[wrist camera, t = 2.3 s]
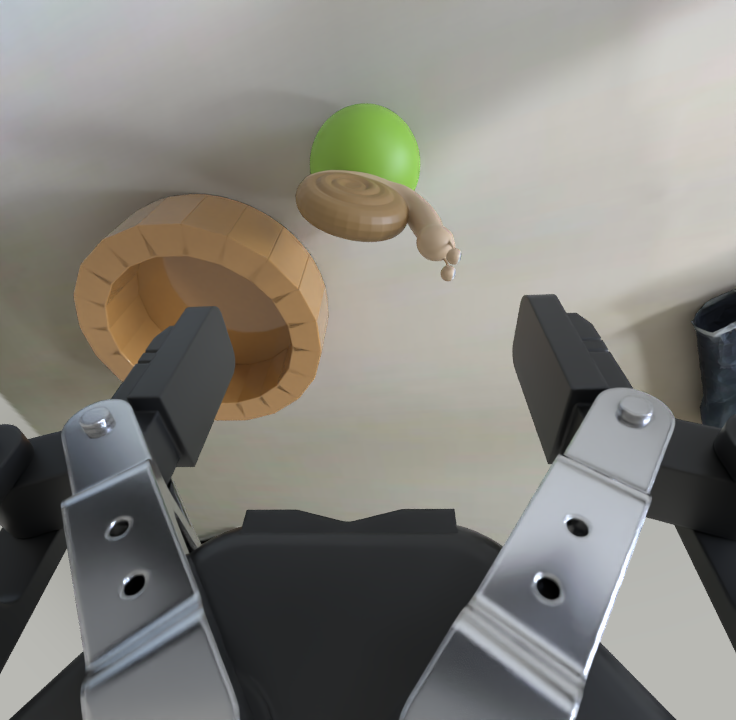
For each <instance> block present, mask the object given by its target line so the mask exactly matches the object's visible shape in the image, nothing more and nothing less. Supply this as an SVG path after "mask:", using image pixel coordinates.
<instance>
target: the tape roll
mask: <svg viewBox="0 0 736 720" xmlns="http://www.w3.org/2000/svg"><path fill="white" fill-rule="evenodd" d="M73 295H74V296H73V297H74V302H75V307H76V312H77V317H78V322H79V326H80V329H81V331H82V332H83V334H84V336H85V337H86V339H87V341H88V343H89V344H90V346H91V348H92V350H93V351H94V353H95V355H96V356H97V357H98V358H99V359H100V360H101V361H102V362H103V363H104V364H105V365H106V366H107V367H108V368H109V369H110V370H111V371H112V372H113V373H114V374H115V375H116V376H117V377H118V378H119V379H120V380H121V381H122V382H123V381H124V380H125V378H126V377H127V376H128V374H129V373H130V371H131V370H132V368H133V367H134V366H135V364H138V360H139V358H140V357H141V356H142V354H143V353H145V350H146V349H147V347H148V346H149V344H150V343H151V341H152V340H153V339H154V337H156V336H157V335H158V334H160V333H161V332H162V331H164V330H165V329H166V328H168V327H169V326H174V325H175V324H176V322H177V321H178V319H179V318H180V316H181V315H182V313H183V312H184V310H185V309H186V308H187V307H202V306H217V307H218V308H219V309H220V311H221V313H222V316H223V319H224V322H225V325H226V329H227V332H228V335H229V338H230V341H231V344H232V347H233V350H234V354H235V370H234V374H233V376H232V379H231V381H230V384H229V386H228V388H227V391H226V393H225V395H224V398H223V400H222V403H221V405H220V407H219V410H218V412H217V414H216V417H215V419H214V420H217V421H219V420H250V419H254V418H258V417H262V416H266V415H270V414H274V413H275V412H278V411H279V410H281V409H283V408H284V407H286V406H288V405H289V404H291V403H293V402H294V401H296V400H297V399H298V398H300V397H301V395H302V394H303V393H304V391H305V390H306V389H307V388H308V386H309V385H310V384H311V382H312V381H313V380H314V378H315V376H316V372H317V368H318V364H319V361H320V357H321V353H322V348H323V342H324V337H325V332H326V327H327V322H328V316H329V313H328V298H327V293H326V288H325V284H324V282H323V279H322V276H321V273H320V271H319V269H318V268H317V266H316V264H315V262H314V260H313V259H312V257H311V256H310V254H309V253H308V251H307V250H306V248H305V247H304V246H303V245H302V244H301V243H300V242H299V241H298V239H297V238H296V237H295V236H294V235H293V234H292V233H290V232H289V231H288V230H287V229H286V228H285V227H284V226H282V225H281V224H280V223H278V222H277V221H275V220H274V219H273V218H271V217H270V216H268V215H266V214H264V213H263V212H261V211H259V210H257V209H255V208H253V207H251V206H248V205H246V204H244V203H241V202H239V201H235V200H232V199H228V198H224V197H220V196H213V195H207V194H185V195H176V196H171V197H167V198H164V199H160V200H158V201H156V202H153V203H151V204H149V205H147V206H145V207H143V208H141V209H139V210H137V211H136V212H134V213H133V214H132V215H131V216H130V217H128V218H127V219H126V220H125V221H124V222H123V223H121V224H120V225H119V226H118V227H117V228H115V229H114V230H113V231H112V232H111V233H109V234H108V235H107V236H106V237H105V238H104V239H102V240H101V241H100V242H99V244H98V245H97V246H96V247H95V248H94V249H93V250H92V252H91V253H90V254H89V255H88V256H87V257H86V258H85V259H84V261H83V262H82V263H81V265H80V268H79V272H78V276H77V280H76V285H75V289H74V293H73Z"/></svg>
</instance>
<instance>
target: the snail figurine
mask: <svg viewBox="0 0 736 720" xmlns="http://www.w3.org/2000/svg"><path fill="white" fill-rule="evenodd" d="M310 173H311V175H309V176H307V177H305V178H304V180H303V181H302V182H301V183H300V185H299V186H298V188H297V192H296V204H297V207H298V209H299V211H300V213H301V214H302V216H303V217H304V218H305V219H306V220H307V221H308V222H309V223H311V224H312V225H314V226H315V227H317V228H318V229H320V230H322V231H324V232H326V233H329V234H331V235H334V236H337V237H340V238H344V239H348V240H353V241H361V242H377V241H384V240H388V239H391V238H393V237H395V236H397V235H398V234H400V233H401V232H402V231H403V229H404V228H405V226H406V224H407V223H408V225H409V226H410V228H411V230H412V231H413V233H414V234H415V236H416V237H417V248H418V250H419V252H420V254H421V255H422V256H424V257H425V258H426V259H428V260H431V261H441V260H444V261H445V263H446V265H447V266H445V267H444V268H443V269H442V270H441V277H442V279H443V280H445V281H451V280H453V278H454V276H455V272H456V271H455V268H454V267H453V266H449V264H448V262H449V263H450V264H457V263H459V261H460V259H461V251H460V250H459V249H457V248H455V241H454V238H453V234H452V233H451V232H450V231H449V230H448V229H447V228H446V227H444V226H443V224H442V221H441V219H440V217H439V216H438V214H437V213H436V211H435V210H434V209H433V207H432V206H431V205H430V204H429V203H428V202H427V201H426V200H425V199H424V198H423V197H421V196H420V195H419V194H417V193H416V192H415V191H414V190H415V188H416V185H417V182H418V178H419V173H420V155H419V150H418V146H417V143H416V140H415V138H414V135H413V134H412V132H411V130H410V128H409V127H408V126H407V124H406V123H405V122H404V121H403V120H402V119H401V118H400V117H399V116H398V115H397V114H395V113H394V112H392V111H391V110H389V109H387V108H384V107H382V106H379V105H374V104H355V105H351V106H348V107H345V108H343V109H341V110H339V111H338V112H336V113H335V114H333V115H332V116H331V117H330V118H329V119H328V120H327V121H326V122H325V123H324V124H323V125H322V127H321V128H320V130H319V131H318V133H317V135H316V137H315V140H314V142H313V145H312V149H311V155H310ZM446 259H447V260H446ZM447 261H448V262H447Z"/></svg>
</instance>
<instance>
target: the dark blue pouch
mask: <svg viewBox="0 0 736 720" xmlns="http://www.w3.org/2000/svg"><path fill="white" fill-rule="evenodd" d="M691 322H692V324H693V325H694V329H695V330H696V334H697V347H698V352H699V360H700V369H701V376H702V377H701V380H702V386H703V398H702V402H701V405H700V412H701V419H702V424H703V425H708V426H713V427H718V428H723V426H724V425H725V423H726V422H727V420H728V419H729V418H730V417H731V416H733V415H735V414H736V289H735V290H732V291H730V292H727V293H724V294H722V295H720V296H717V297H715V298H713V299H711V300H709V301H708V302H706V303H705V304H704V306H703V307H702V308H701V309H700V310H699V311H698V313H696V315H695V318H694V320H693V321H691Z"/></svg>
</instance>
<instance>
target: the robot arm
mask: <svg viewBox="0 0 736 720" xmlns="http://www.w3.org/2000/svg"><path fill="white" fill-rule="evenodd" d="M513 363H514V367H515V370H516V373H517V376H518V379H519V382H520V385H521V388H522V390H523V393H524V396H525V399H526V402H527V405H528V408H529V410H530V413H531V416H532V419H533V422H534V425H535V428H536V431H537V433H538V436H539V439H540V442H541V445H542V448H543V451H544V453H545V456H546V459H547V462H548V464H552V465H551V467H550V468H549V470H548V472H547V473H546V475H545V477H544V478H543V480H542V482H541V483H540V485H539V487H538V489H537V490H536V492H535V494H534V495H533V497H532V499H531V500H530V502H529V504H528V505H527V507H526V509H525V510H524V512H523V514H522V515H521V517H520V519H519V520H518V522H517V524H516V526H515V527H514V529H513V531H512V532H511V534H510V536H509V537H508V539H507V541H506V542H505V544H504V546H501V545H500V544H498V543H497V542H495V541H494V540H492V539H490V538H488V537H486V536H484V535H482V534H480V533H478V532H476V531H473V530H471V529H468V528H465V527H461V526H457V525H456V518H455V511H454V509H401V510H397V511H393V512H389V513H385V514H380V515H376V516H372V517H368V518H364V519H360V520H356V521H351V522H345V521H340V520H336V519H332V518H328V517H324V516H320V515H316V514H312V513H308V512H304V511H300V510H247V511H246V515H245V518H244V522H243V525H242V527H238V528H235V529H232V530H230V531H227V532H224V533H222V534H220V535H218V536H216V537H214V538H212V539H210V540H209V541H207V542H205V543H204V544H202V545H201V543H200V541H199V538H198V536H197V534H196V532H195V529H194V527H193V525H192V522H191V520H190V518H189V515H188V513H187V510H186V508H185V506H184V503H183V501H182V499H181V496H180V494H179V492H178V489H177V487H176V485H175V482H174V481H173V479H172V477H171V476H172V474H173V472H174V470H175V468H176V467H195V465H196V462H197V460H198V457H199V455H200V453H201V450H202V448H203V445H204V443H205V441H206V438H207V436H208V434H209V431H210V429H211V426H212V424H213V422H214V419H215V417H216V414H217V412H218V410H219V407H220V405H221V403H222V400H223V398H224V395H225V393H226V391H227V388H228V386H229V384H230V381H231V379H232V376H233V374H234V370H235V354H234V350H233V347H232V344H231V341H230V338H229V335H228V332H227V329H226V325H225V322H224V319H223V316H222V313H221V311H220V309H219V308H218V307H217V306H202V307H187V308H186V309H185V310H184V312H183V313H182V315H181V316H180V318H179V319H178V321H177V322H176V324H175V325H174V326H169V327H168V328H166V329H165V330H164V331H162V332H161V333H160V334H158V335H157V336H156V337H154V339H153V340H152V341H151V343H150V344H149V346H148V347H147V349H146V350H145V353H143V354H142V356H141V357H140V358H139V360H138V364H135V366H134V367H133V368H132V370H131V371H130V373H129V374H128V376H127V377H126V378H125V380H124V381H123V383H122V384H121V385H120V387H119V388H118V390H117V391H116V393H115V394H114V395H113V397H112V398H111V399H108V400H103V401H99V402H96V403H93V404H91V405H89V406H87V407H85V408H83V409H81V410H80V411H78V412H77V413H76V414H74V415H73V416H72V417H71V418H70V419H69V420H68V421H67V423H66V424H65V425H64V427H63V429H62V431H59V432H55V433H51V434H47V435H43V436H39V437H35V438H31V439H27V438H26V437H25V436H24V434H23V433H22V432H21V431H20V429H18V428H17V427H16V426H13V425H8V424H2V425H0V525H1V526H2V527H3V528H2V529H1V531H0V673H1V671H2V669H3V667H4V665H5V664H6V662H7V660H8V658H9V656H10V654H11V652H12V651H13V649H14V647H15V645H16V643H17V641H18V639H19V637H20V636H21V634H22V632H23V630H24V628H25V626H26V624H27V622H28V620H29V619H30V617H31V615H32V613H33V611H34V609H35V607H36V605H37V604H38V602H39V600H40V598H41V596H42V594H43V592H44V590H45V588H46V586H47V585H48V583H49V581H50V579H51V577H52V575H53V573H54V572H55V570H56V568H57V566H58V564H59V562H60V560H61V558H62V557H63V555H64V553H65V551H66V549H67V550H68V556H69V563H70V569H71V575H72V581H73V587H74V594H75V600H76V607H77V613H78V619H79V626H80V632H81V638H82V645H83V652H82V653H81V654H80V655H79V656H78V657H77V658H75V659H74V660H73V661H72V662H71V663H70V664H69V665H68V666H67V667H66V668H65V669H64V670H62V671H61V672H60V673H59V674H58V675H57V676H56V677H55V678H54V679H53V680H52V681H51V682H49V683H48V684H47V685H46V686H45V687H44V688H43V689H42V690H41V691H40V692H39V693H38V694H37V695H35V696H34V697H33V698H32V699H31V700H30V701H29V702H28V703H27V704H26V705H24V706H23V707H22V708H21V709H20V710H19V711H18V712H17V713H16V714H15V715H14V716H13V717H11V718H10V719H9V720H676V719H675V718H674V717H673V716H672V715H671V714H670V713H669V712H668V711H667V710H666V709H665V708H664V707H663V706H662V705H661V704H660V703H659V702H658V701H657V700H656V699H655V698H654V697H653V696H652V695H651V693H649V691H648V690H647V689H646V688H645V687H644V686H643V685H642V684H641V683H640V682H639V681H638V680H637V679H636V678H635V677H634V676H633V675H632V674H631V673H630V672H629V671H628V670H627V669H626V668H625V667H624V666H623V665H622V664H621V663H620V662H619V661H618V660H617V659H616V658H615V657H614V656H613V655H612V654H611V653H610V652H609V651H608V650H607V649H606V648H605V647H604V646H603V645H602V644H601V643H600V640H601V638H602V635H603V632H604V629H605V627H606V624H607V621H608V619H609V616H610V613H611V610H612V608H613V605H614V602H615V599H616V597H617V594H618V591H619V589H620V586H621V583H622V580H623V578H624V575H625V572H626V569H627V566H628V564H629V561H630V558H631V556H632V553H633V550H634V547H635V545H636V542H637V539H638V537H639V534H640V531H641V529H642V526H643V523H644V520H645V518H646V517H647V518H651V519H655V520H659V521H662V522H666V523H670V524H673V525H675V527H676V529H677V531H678V533H679V535H680V537H681V539H682V542H683V544H684V546H685V548H686V550H687V552H688V554H689V556H690V558H691V560H692V562H693V565H694V567H695V569H696V571H697V573H698V575H699V577H700V579H701V581H702V583H703V585H704V587H705V589H706V591H707V594H708V596H709V597H710V600H711V602H712V604H713V606H714V608H715V610H716V612H717V614H718V616H719V619H720V621H721V623H722V625H723V627H724V629H725V631H726V633H727V635H728V637H729V639H730V641H731V643H732V645H733V648H734V650H735V652H736V414H735V415H733V416H731V417H730V418H729V419H728V420H727V422H726V423H725V425H724V426H723V428H718V427H713V426H708V425H703V424H698V423H693V422H688V421H684V420H679V419H676V418H674V415H673V413H672V412H671V410H670V409H669V408H668V407H667V406H666V405H665V404H664V403H663V402H662V401H660V400H659V399H657V398H656V397H654V396H652V395H650V394H648V393H645V392H643V391H640V390H636V389H633V387H632V386H631V384H630V383H629V381H628V379H627V378H626V376H625V375H624V373H623V372H622V370H621V368H620V367H619V365H618V364H617V362H616V361H615V359H614V358H613V356H612V354H611V353H610V352H608V348H607V347H606V345H605V343H604V342H603V340H601V337H600V336H599V334H598V333H597V331H596V329H595V328H594V326H593V325H592V324H591V323H590V322H588V321H587V320H586V319H584V318H583V317H581V316H580V315H579V314H577V313H566V312H565V310H564V308H563V306H562V305H561V303H560V301H559V299H558V298H557V296H556V295H555V294H546V295H524V296H523V297H522V299H521V303H520V308H519V313H518V319H517V325H516V330H515V336H514V341H513Z"/></svg>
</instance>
